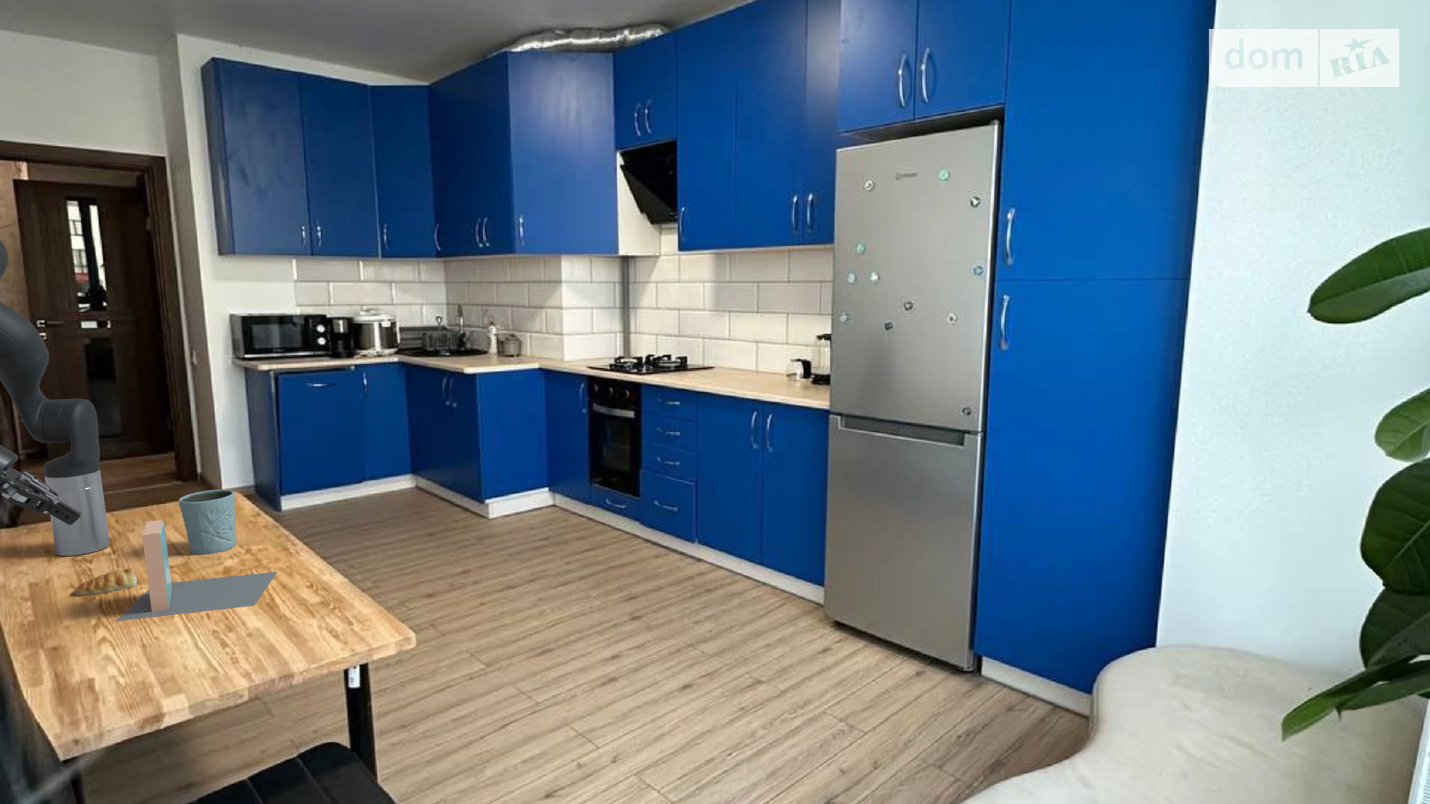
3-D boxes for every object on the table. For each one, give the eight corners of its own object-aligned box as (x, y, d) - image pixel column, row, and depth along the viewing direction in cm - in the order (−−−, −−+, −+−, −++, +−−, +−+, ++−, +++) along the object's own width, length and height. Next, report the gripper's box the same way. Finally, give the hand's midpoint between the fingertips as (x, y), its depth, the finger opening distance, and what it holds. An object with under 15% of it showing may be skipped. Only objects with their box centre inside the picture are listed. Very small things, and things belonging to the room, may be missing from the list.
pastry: (76, 604, 140) (73, 584, 140) (74, 593, 145) (72, 574, 145) (139, 590, 146) (137, 571, 146) (136, 580, 151) (134, 562, 151)
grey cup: (248, 545, 171) (243, 493, 169) (198, 559, 162) (192, 504, 160) (225, 537, 176) (220, 487, 174) (175, 550, 168) (169, 497, 166)
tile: (151, 611, 135) (142, 535, 133) (155, 594, 142) (146, 521, 140) (169, 608, 136) (160, 532, 134) (172, 591, 144) (163, 519, 141)
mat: (154, 587, 147) (154, 584, 147) (277, 574, 153) (277, 571, 153) (116, 624, 131) (115, 620, 131) (254, 608, 137) (254, 605, 137)
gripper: (-20, 445, 118) (90, 510, 127) (-2, 433, 129) (99, 494, 138) (-64, 483, 116) (52, 547, 124) (-41, 468, 127) (64, 528, 135)
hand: (76, 519), depth 131 cm, fingers closed
